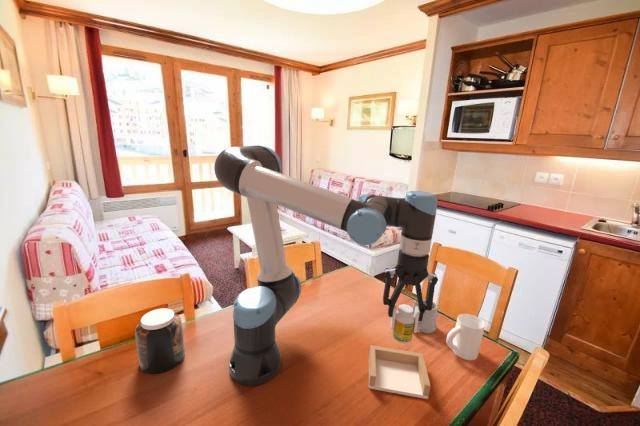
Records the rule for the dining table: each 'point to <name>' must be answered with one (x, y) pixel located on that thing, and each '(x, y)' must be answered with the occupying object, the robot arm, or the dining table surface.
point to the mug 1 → (427, 318)
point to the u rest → (398, 372)
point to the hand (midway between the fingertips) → (403, 327)
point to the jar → (159, 341)
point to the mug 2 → (466, 336)
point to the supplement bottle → (404, 324)
